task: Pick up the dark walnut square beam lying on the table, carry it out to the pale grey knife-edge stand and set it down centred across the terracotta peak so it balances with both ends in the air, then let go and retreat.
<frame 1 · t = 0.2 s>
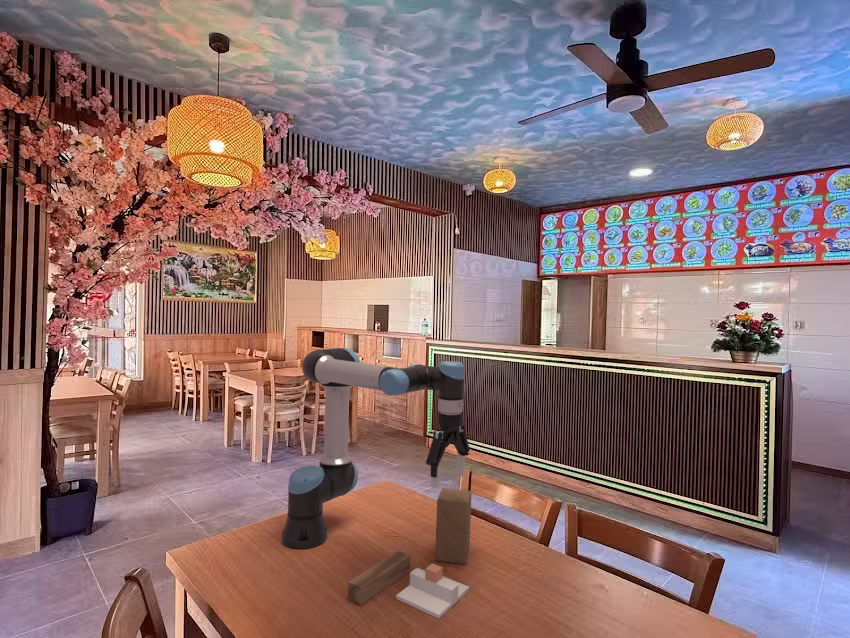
hand: (448, 481, 147), 27 cm above the table, fingers open, 13 cm apart
beam: (380, 585, 139), on the table
stand: (433, 594, 134), on the table
wooden block: (452, 555, 156), on the table
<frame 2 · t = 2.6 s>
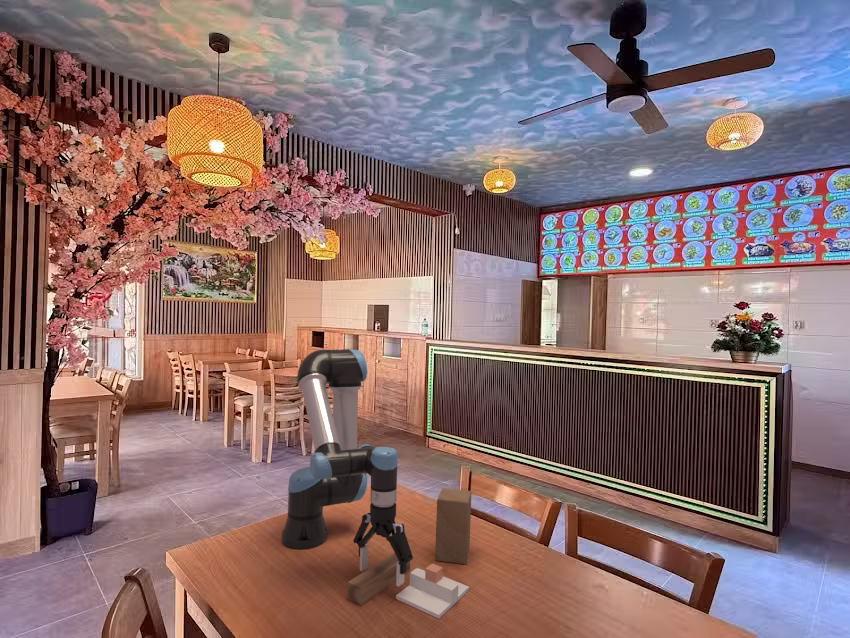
hand: (381, 576, 138), 2 cm above the table, fingers open, 13 cm apart
nothing on the table moved.
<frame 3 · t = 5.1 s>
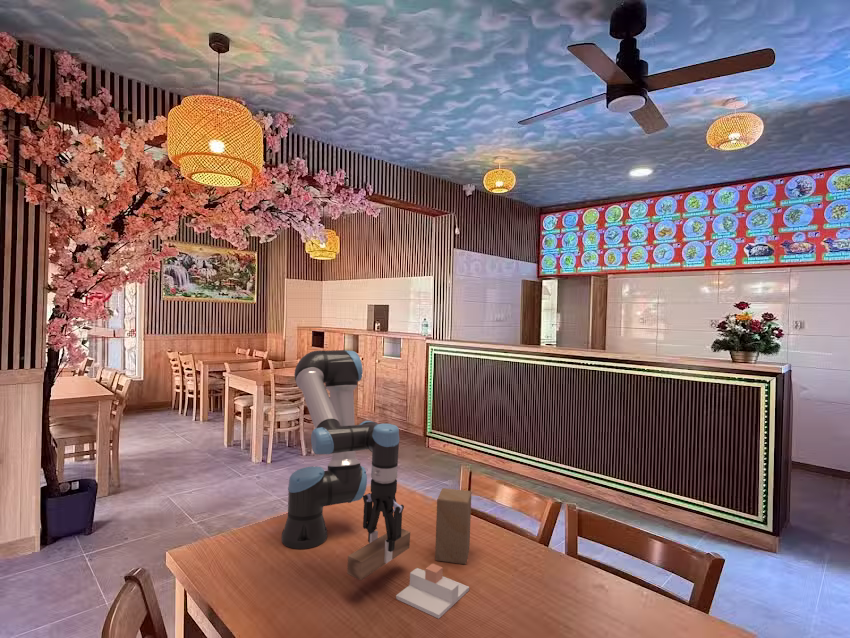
hand: (380, 557, 139), 7 cm above the table, fingers closed on beam, 5 cm apart
beam: (380, 560, 139), point 7 cm above the table, touching gripper
everything else where it was.
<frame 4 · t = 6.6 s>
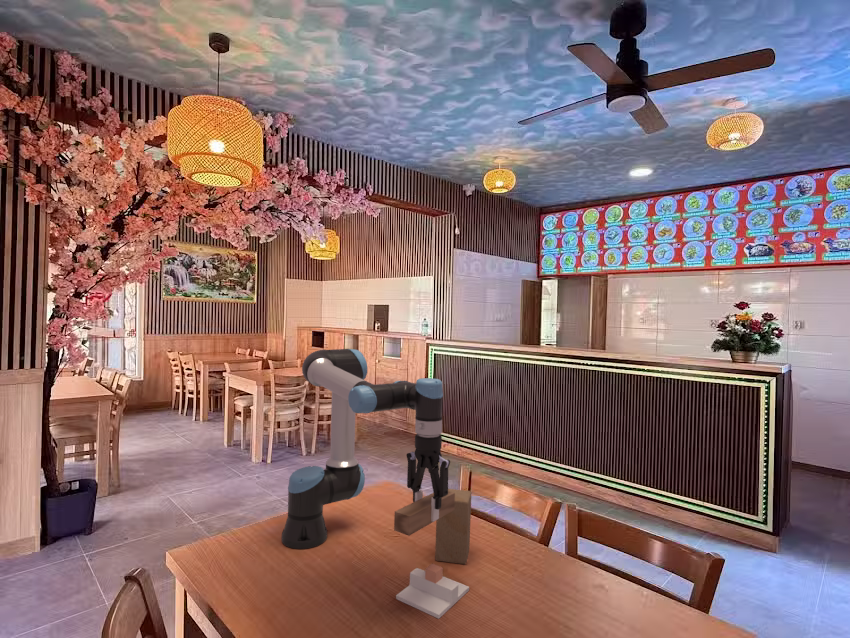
hand: (426, 517, 134), 22 cm above the table, fingers closed on beam, 5 cm apart
beam: (425, 519, 134), point 21 cm above the table, touching gripper
everything else where it was.
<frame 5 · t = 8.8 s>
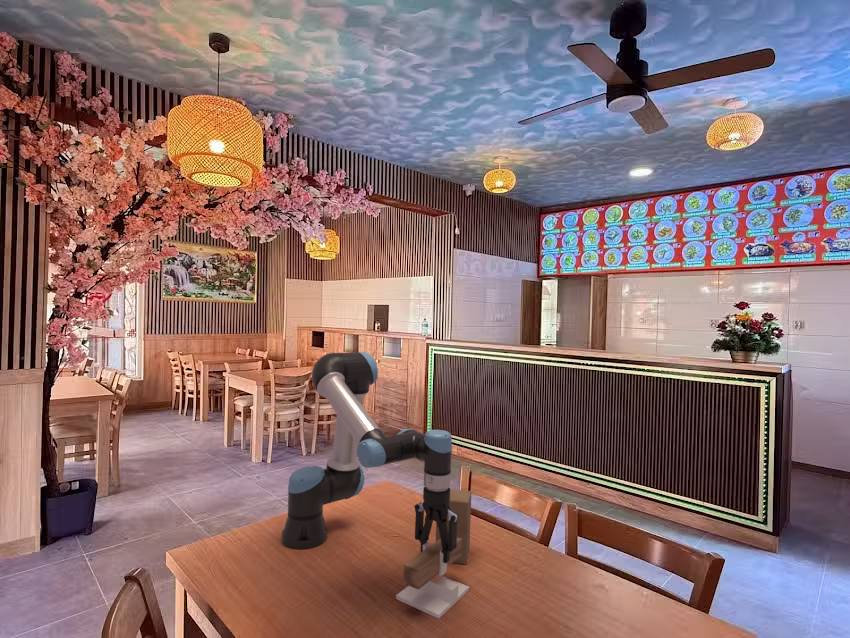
hand: (434, 569, 134), 7 cm above the table, fingers closed on beam, 5 cm apart
beam: (433, 568, 134), point 7 cm above the table, touching gripper, stand
everything else where it was.
when the fingers open (7 cm above the table, at t = 8.8 s): beam stays where it is, resting on stand.
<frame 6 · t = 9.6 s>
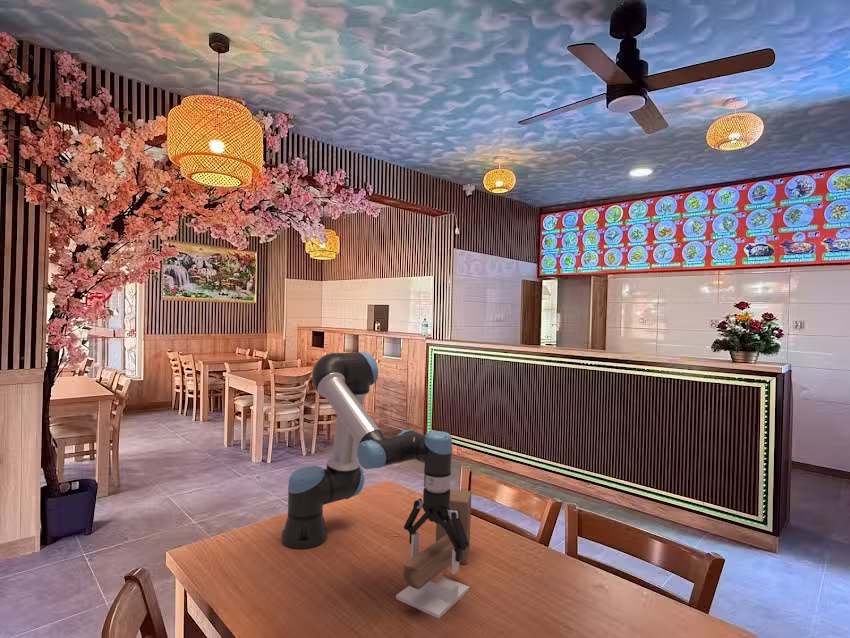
hand: (434, 563, 134), 9 cm above the table, fingers open, 13 cm apart
beam: (433, 568, 134), point 7 cm above the table, touching stand
everything else where it was.
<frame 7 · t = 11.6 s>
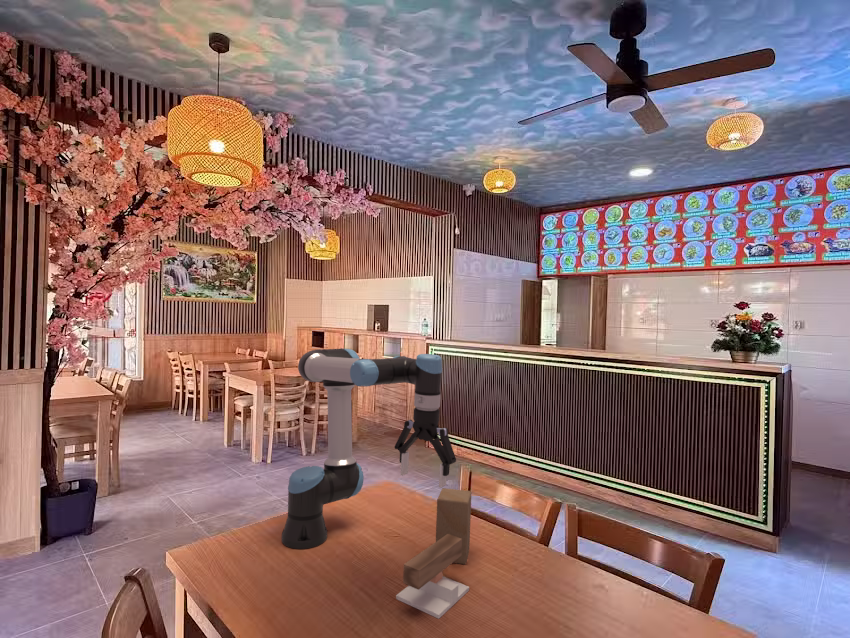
hand: (422, 480, 140), 30 cm above the table, fingers open, 13 cm apart
nothing on the table moved.
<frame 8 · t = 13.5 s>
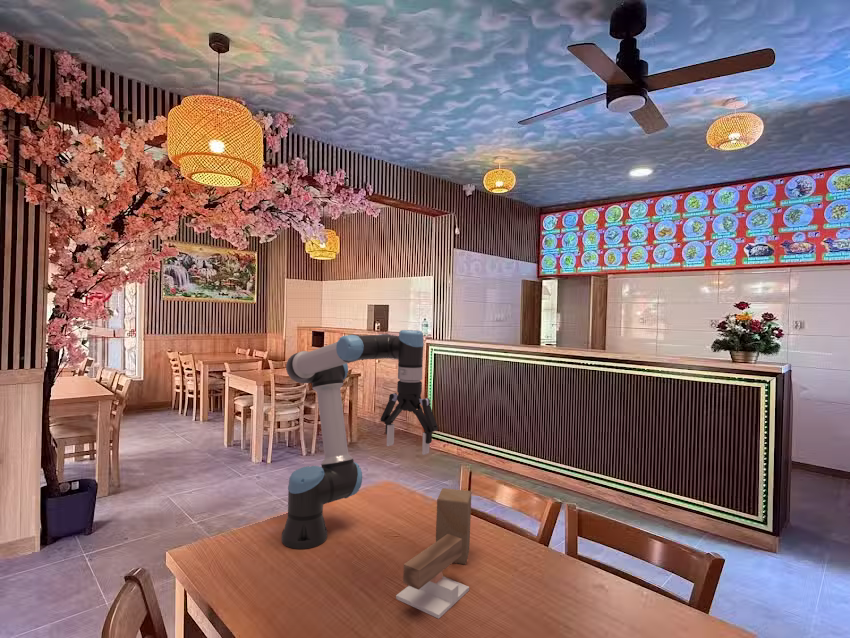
hand: (407, 449, 147), 37 cm above the table, fingers open, 13 cm apart
nothing on the table moved.
at the end: beam inside the target area on the stand (0.2 cm from its centre), point 7.5 cm above the stand's base; beam touching stand; beam tilted 0° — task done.
